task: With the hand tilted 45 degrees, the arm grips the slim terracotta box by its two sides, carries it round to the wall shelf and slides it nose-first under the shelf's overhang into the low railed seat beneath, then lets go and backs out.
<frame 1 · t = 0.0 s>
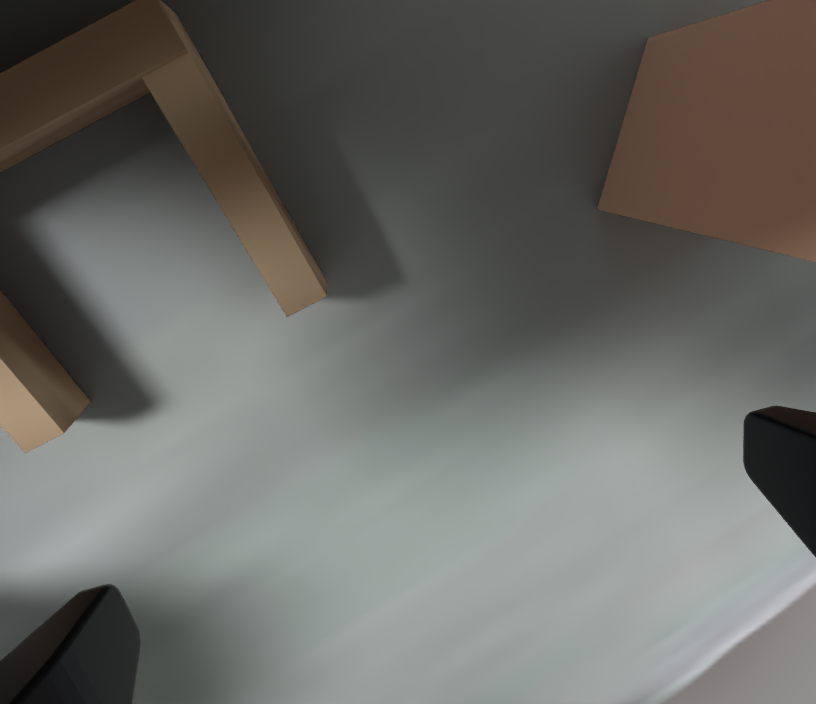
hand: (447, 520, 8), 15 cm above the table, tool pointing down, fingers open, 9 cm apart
shelf: (124, 256, 20), on the table
terracotta box: (686, 143, 22), on the table
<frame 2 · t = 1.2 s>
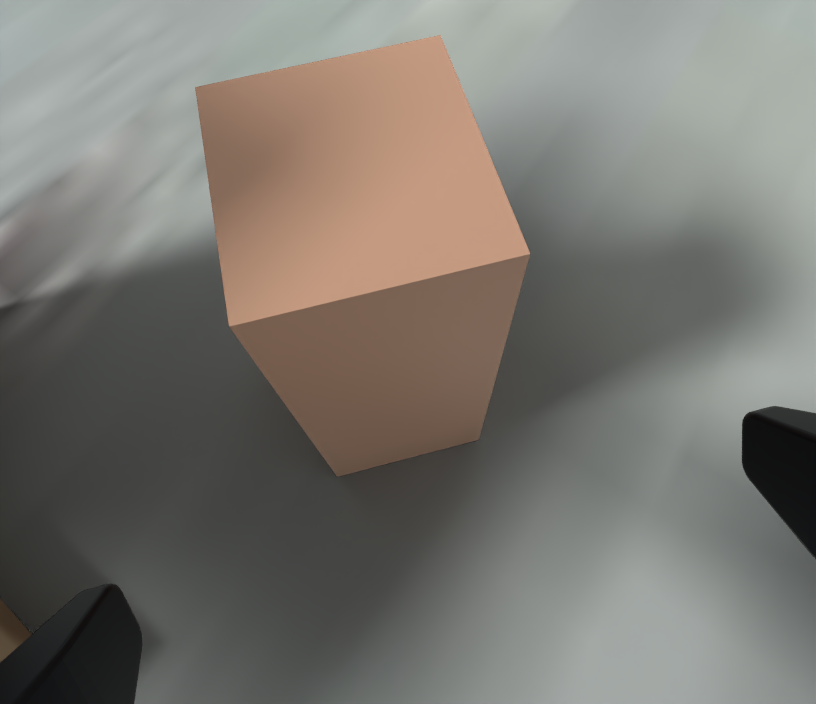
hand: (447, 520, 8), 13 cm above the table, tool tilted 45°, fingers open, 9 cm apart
terracotta box: (390, 386, 23), on the table
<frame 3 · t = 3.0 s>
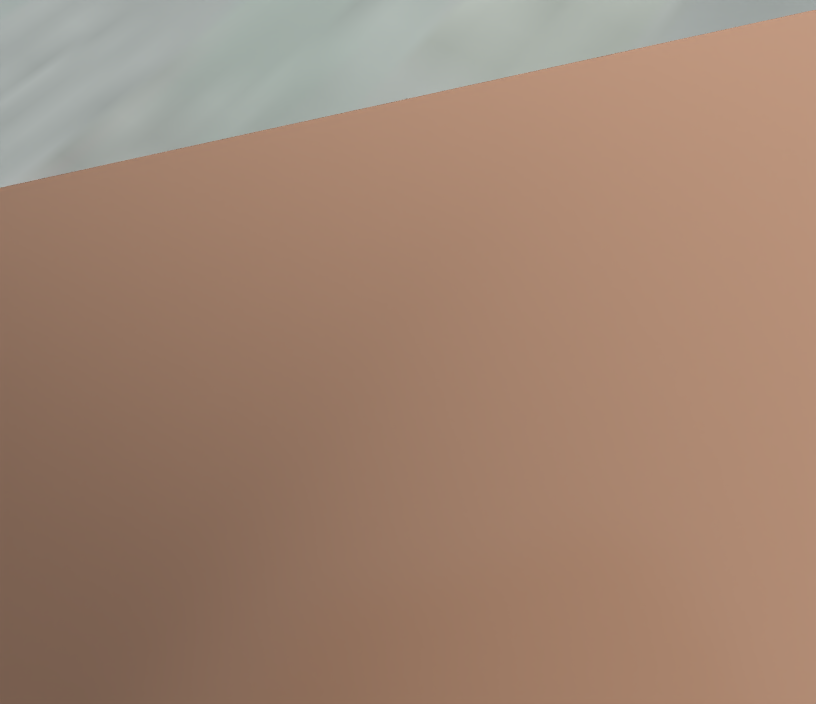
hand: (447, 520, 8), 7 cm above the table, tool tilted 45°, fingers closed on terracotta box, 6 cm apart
terracotta box: (455, 620, 14), on the table, touching gripper
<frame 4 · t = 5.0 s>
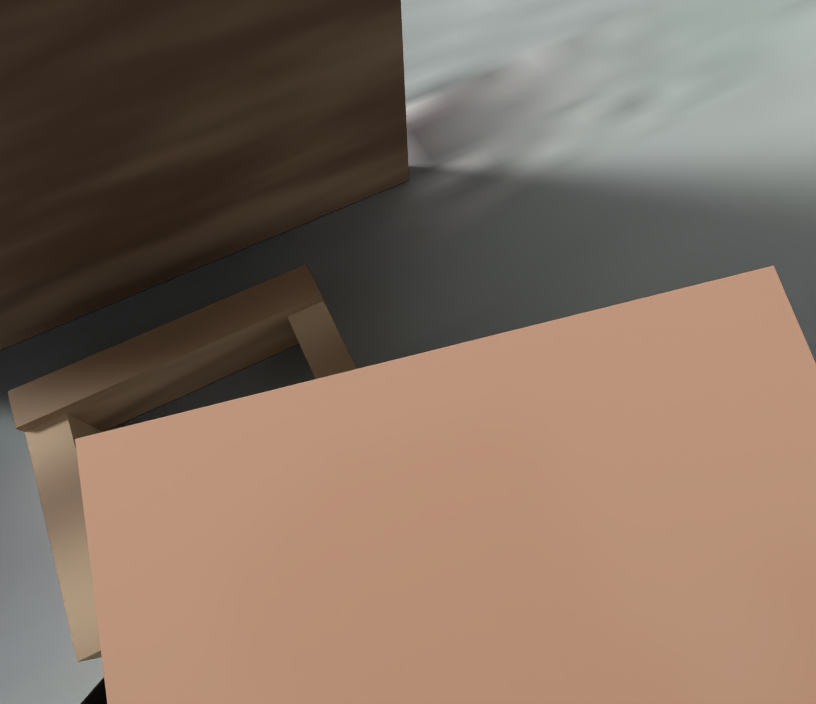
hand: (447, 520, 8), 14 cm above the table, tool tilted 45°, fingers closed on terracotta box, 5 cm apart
shelf: (236, 474, 22), on the table
terracotta box: (439, 559, 16), point 5 cm above the table, tilted 10°, touching gripper
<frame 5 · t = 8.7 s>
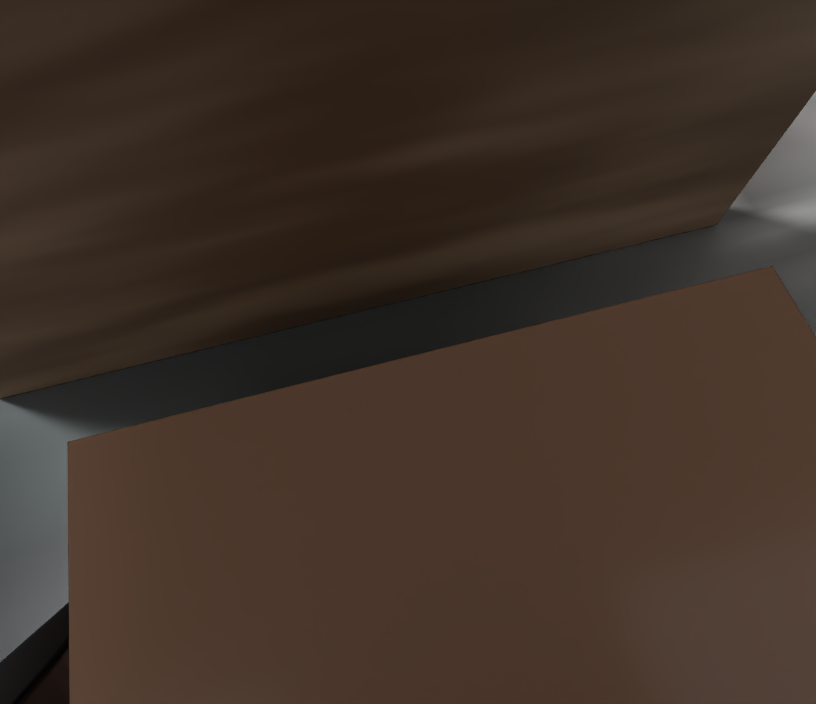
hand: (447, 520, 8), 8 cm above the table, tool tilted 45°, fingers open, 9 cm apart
shelf: (455, 619, 15), on the table
terracotta box: (464, 657, 15), on the table
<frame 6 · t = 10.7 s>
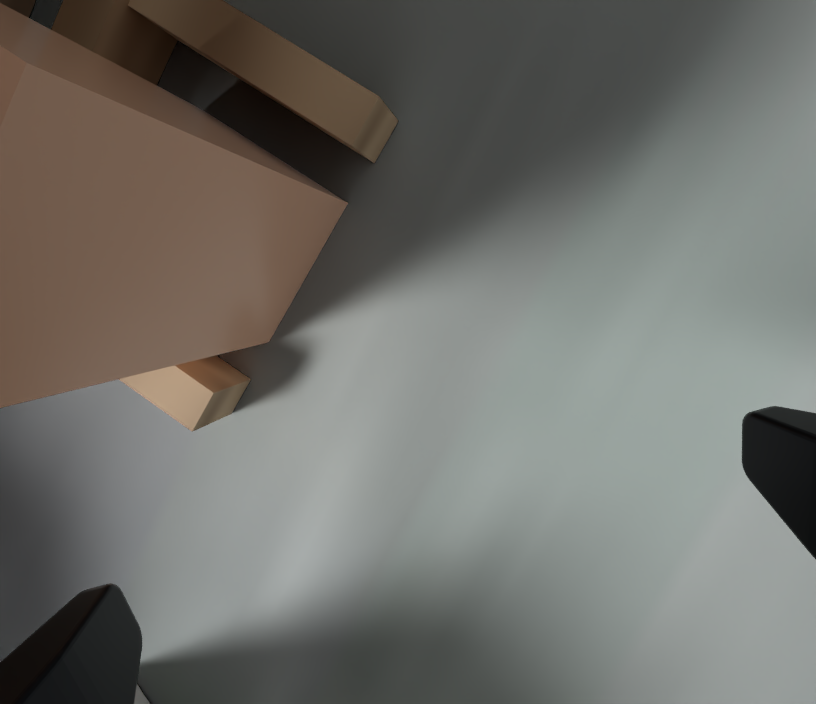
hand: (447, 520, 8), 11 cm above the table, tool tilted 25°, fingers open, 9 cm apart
shelf: (215, 213, 20), on the table
terracotta box: (236, 227, 20), on the table
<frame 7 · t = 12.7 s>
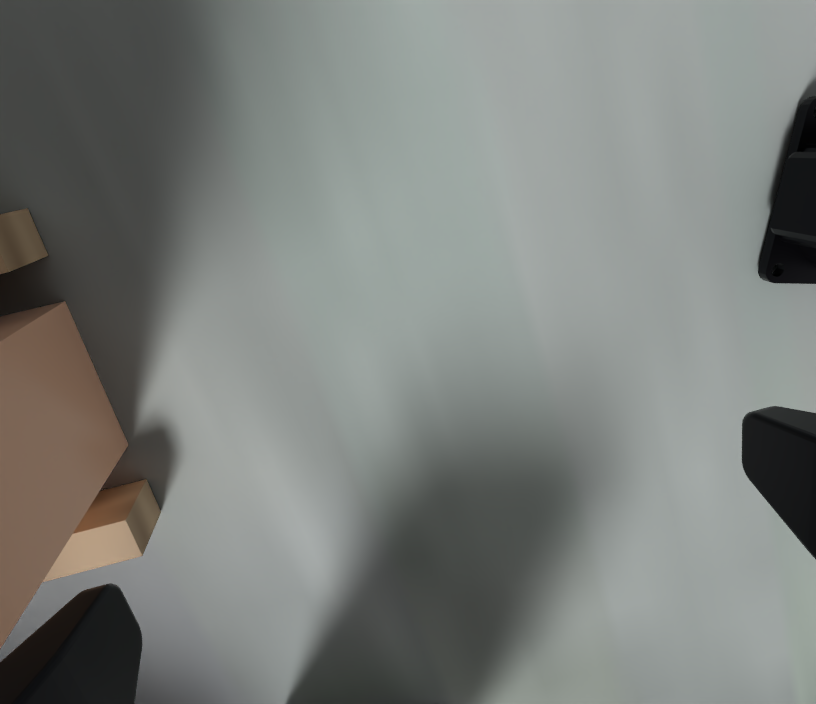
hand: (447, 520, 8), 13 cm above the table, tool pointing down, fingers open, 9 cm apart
terracotta box: (9, 398, 20), on the table
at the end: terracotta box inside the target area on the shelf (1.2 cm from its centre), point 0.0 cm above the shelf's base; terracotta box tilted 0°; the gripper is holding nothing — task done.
